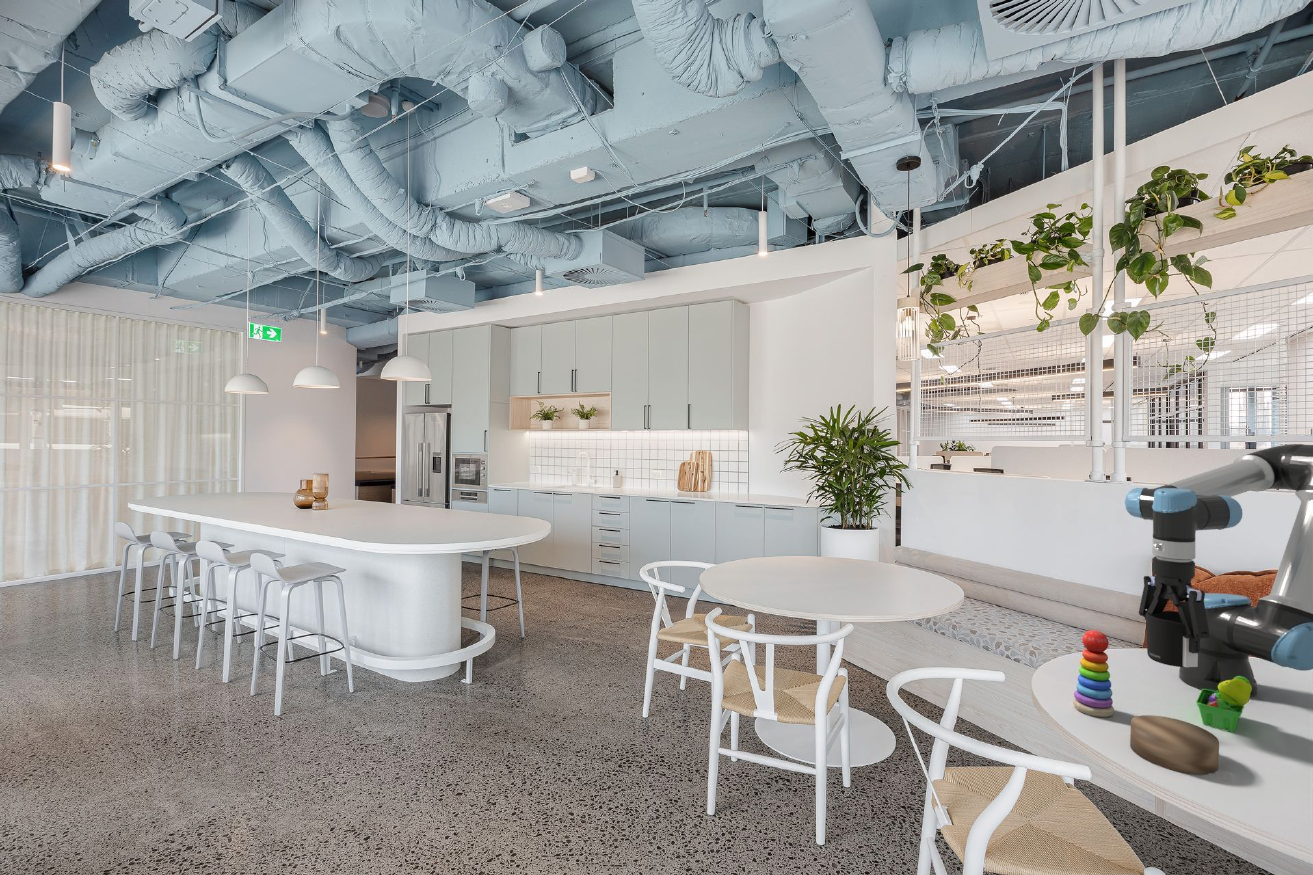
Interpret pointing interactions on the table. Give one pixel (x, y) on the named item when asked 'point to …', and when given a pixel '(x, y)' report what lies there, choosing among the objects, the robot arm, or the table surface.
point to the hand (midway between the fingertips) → (1171, 657)
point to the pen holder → (1165, 638)
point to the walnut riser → (1174, 744)
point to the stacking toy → (1094, 677)
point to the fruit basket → (1224, 703)
